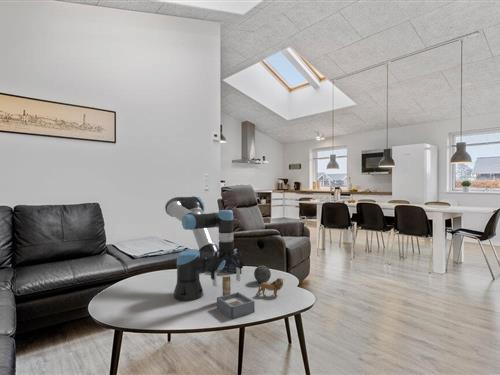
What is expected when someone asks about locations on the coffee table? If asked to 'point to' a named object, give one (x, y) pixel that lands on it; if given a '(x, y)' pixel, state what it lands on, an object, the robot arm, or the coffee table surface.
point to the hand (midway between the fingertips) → (226, 283)
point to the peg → (226, 285)
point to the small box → (230, 265)
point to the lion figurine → (271, 286)
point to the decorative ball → (262, 274)
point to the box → (235, 305)
